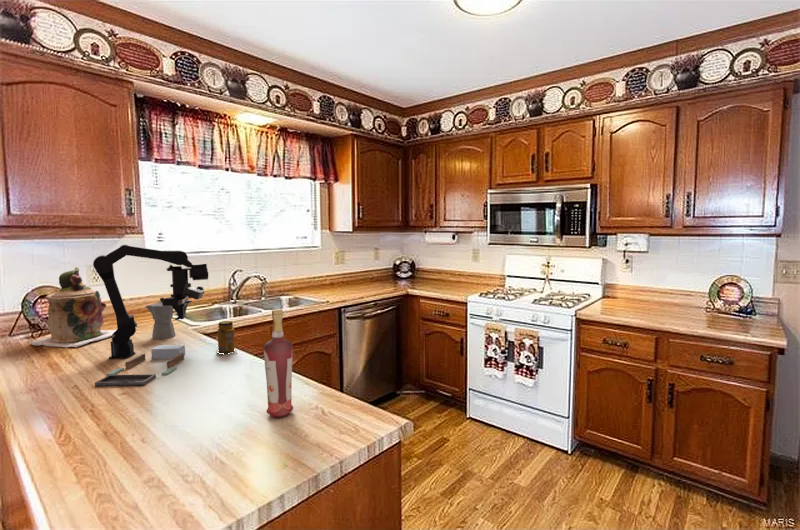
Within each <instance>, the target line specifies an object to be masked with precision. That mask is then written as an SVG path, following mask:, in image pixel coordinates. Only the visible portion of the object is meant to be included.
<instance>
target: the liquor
mask: <svg viewBox="0 0 800 530" xmlns="http://www.w3.org/2000/svg"><path fill="white" fill-rule="evenodd" d="M283 313H284V312H283V309H282V308H281V309H279V308H278V309H272V310H271V319H272V322H273V323H272V335H271V340H269V341H267V342H265V344H264V345H263V355H264V369H265V370H264V371H265V379H266V381H265V382H266V393H267V394H266V395H267V409H266V413H267V414H268V415H269V416H271V417H272V418H275V419H280V418H284V417H287V416H288V415H290V413H291V412H292V411H293V410H294V406H293V404H292V385H293V384H292V382H293V379H292V377H293V342H292V341H290V340H288V339H286V338H285V337H284V336H285V335H284V329H283V327H284V326H283V318H284V314H283Z"/></svg>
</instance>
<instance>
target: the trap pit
mask: <svg viewBox="0 0 800 530" xmlns="http://www.w3.org/2000/svg"><path fill="white" fill-rule="evenodd" d="M155 379H157V375H156V374H154V373H153V374H152V373H151V374H148V373H146V374H144V373H143V374H115V375H108V376H107V375H106V376H105V377H103V378H101V379H99V380H97V381H96V382H94V388H95V387H144V386H146V385H148V384H149V383H150V382H152V381H154V380H155Z"/></svg>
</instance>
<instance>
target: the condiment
mask: <svg viewBox="0 0 800 530" xmlns="http://www.w3.org/2000/svg"><path fill="white" fill-rule="evenodd" d="M234 330H235V327H234V325H233V321H231V320H223V321H220V322H218V329H217V349H215V353H216V356H230V355H234V354H235V355H236V354H238V353H237V349H236V347H235V333H234ZM234 349H235V351H234ZM218 350H219V351H218ZM217 351H218V352H219V353H224V355H222V354H219V353H217ZM230 352H233V353H230ZM228 353H230V355H229V354H228ZM227 354H228V355H227Z"/></svg>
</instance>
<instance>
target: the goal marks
mask: <svg viewBox="0 0 800 530" xmlns="http://www.w3.org/2000/svg"><path fill="white" fill-rule="evenodd" d="M124 370H125V368H124V367H118V368H115V369H113V370H112V371H110V372H108V373H106V376H108V375H118V374H119V373H120V372H122V371H124ZM176 370H177V366H174V367H170V368H169V369H167V368H166V370H165V371H162V372H161V375H162V376H168V375H171V374H172V373H173V372H174V371H176Z"/></svg>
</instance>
